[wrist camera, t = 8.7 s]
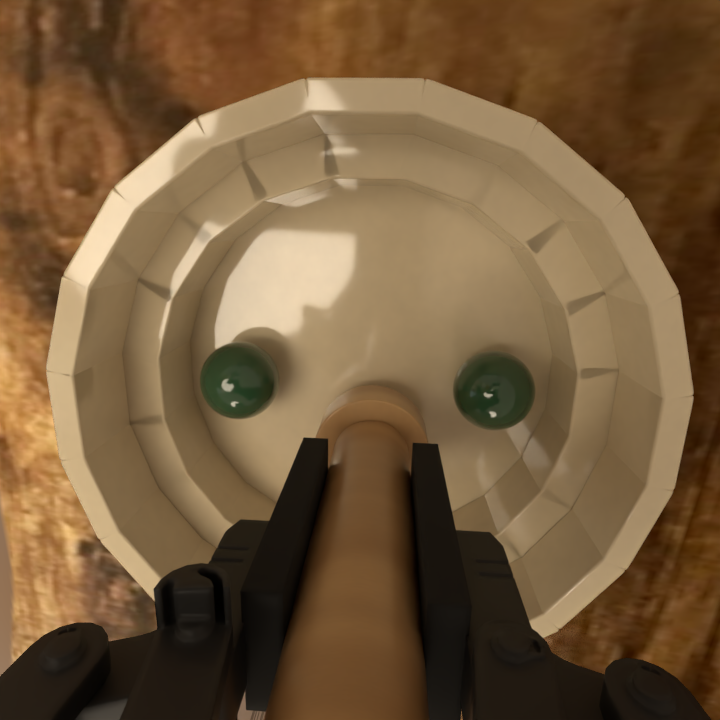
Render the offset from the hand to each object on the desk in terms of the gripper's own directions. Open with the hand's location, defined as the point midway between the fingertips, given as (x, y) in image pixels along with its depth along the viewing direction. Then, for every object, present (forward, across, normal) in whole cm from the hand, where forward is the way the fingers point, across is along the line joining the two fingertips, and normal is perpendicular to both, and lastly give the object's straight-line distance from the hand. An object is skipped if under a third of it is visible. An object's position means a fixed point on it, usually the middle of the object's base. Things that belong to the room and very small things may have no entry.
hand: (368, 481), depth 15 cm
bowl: (+5, 0, +2) cm, 5 cm away
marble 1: (+3, -5, +2) cm, 6 cm away
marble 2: (+3, +4, +2) cm, 6 cm away
